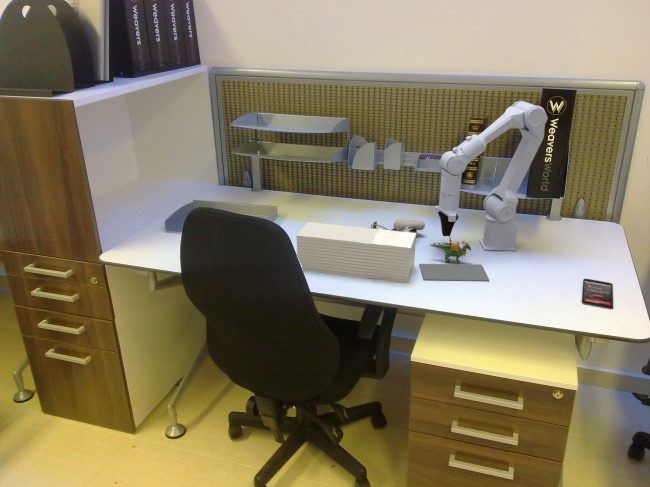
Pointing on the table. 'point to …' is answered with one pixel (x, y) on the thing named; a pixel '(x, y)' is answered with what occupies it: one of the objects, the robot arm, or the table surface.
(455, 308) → the table surface
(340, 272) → the stack of papers
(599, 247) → the table surface
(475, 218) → the table surface
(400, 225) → the clip-on lamp
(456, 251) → the figurine
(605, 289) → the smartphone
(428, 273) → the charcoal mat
